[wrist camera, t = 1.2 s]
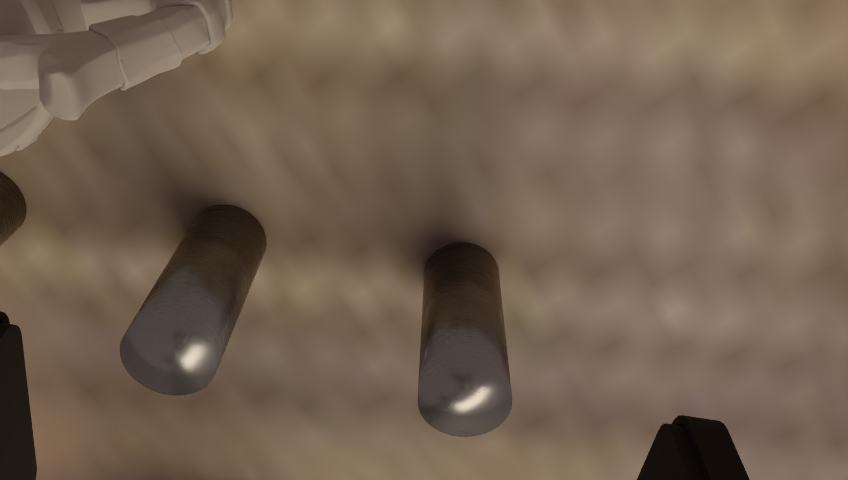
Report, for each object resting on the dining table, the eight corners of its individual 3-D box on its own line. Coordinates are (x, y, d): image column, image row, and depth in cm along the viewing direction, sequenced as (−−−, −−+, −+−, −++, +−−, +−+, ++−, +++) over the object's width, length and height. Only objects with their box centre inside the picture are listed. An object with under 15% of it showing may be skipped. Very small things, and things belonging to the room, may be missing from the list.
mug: (-102, -120, 26) (-472, -65, 16) (244, -139, 25) (102, -95, 15) (-25, 98, 30) (-281, 259, 19) (277, 86, 29) (183, 245, 19)
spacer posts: (490, 310, 34) (500, 442, 27) (-48, 228, 33) (-182, 344, 26) (644, -291, 23) (728, -330, 16) (-156, -452, 22) (-442, -572, 15)
